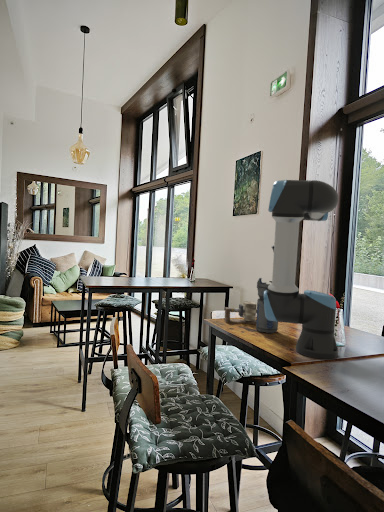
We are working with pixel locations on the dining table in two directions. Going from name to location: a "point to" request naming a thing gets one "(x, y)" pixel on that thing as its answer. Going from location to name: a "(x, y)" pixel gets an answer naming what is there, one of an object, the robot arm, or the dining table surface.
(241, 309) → the dark grey flat block
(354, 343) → the dining table surface
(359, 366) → the dining table surface
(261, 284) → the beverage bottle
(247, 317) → the sleeve
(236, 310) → the pipe stand
